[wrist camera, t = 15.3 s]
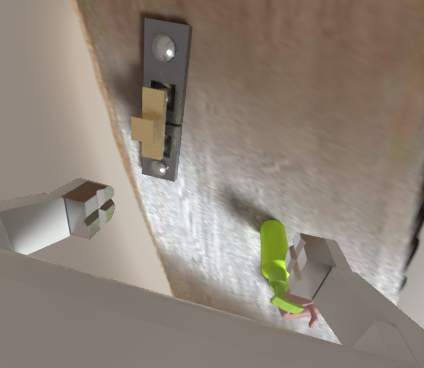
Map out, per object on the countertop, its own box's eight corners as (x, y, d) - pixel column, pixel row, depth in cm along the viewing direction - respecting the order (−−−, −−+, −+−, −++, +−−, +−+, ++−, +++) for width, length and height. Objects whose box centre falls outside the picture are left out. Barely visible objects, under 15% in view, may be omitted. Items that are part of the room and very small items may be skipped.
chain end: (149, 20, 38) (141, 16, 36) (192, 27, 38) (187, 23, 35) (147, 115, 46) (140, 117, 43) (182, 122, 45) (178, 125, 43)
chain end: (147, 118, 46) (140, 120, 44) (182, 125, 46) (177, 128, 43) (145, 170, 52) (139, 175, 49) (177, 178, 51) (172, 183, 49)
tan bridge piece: (157, 85, 43) (130, 87, 34) (176, 89, 43) (154, 92, 33) (154, 147, 49) (131, 162, 40) (171, 150, 49) (151, 167, 39)
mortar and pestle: (296, 302, 62) (304, 345, 52) (265, 280, 61) (268, 320, 50) (331, 284, 57) (347, 328, 47) (299, 258, 55) (308, 298, 45)
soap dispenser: (279, 244, 54) (291, 323, 37) (255, 232, 54) (256, 305, 36) (293, 228, 52) (313, 305, 34) (268, 215, 51) (274, 286, 34)
